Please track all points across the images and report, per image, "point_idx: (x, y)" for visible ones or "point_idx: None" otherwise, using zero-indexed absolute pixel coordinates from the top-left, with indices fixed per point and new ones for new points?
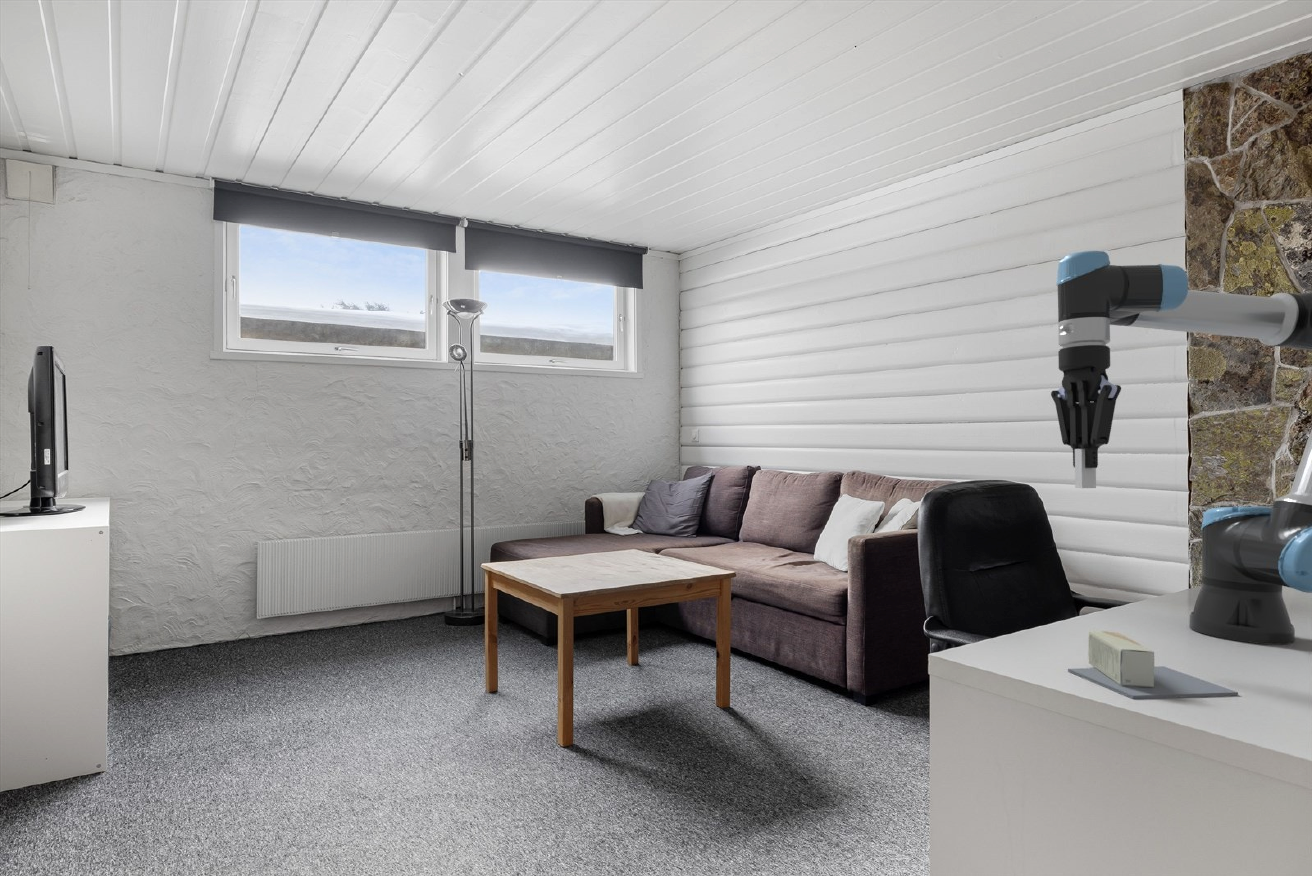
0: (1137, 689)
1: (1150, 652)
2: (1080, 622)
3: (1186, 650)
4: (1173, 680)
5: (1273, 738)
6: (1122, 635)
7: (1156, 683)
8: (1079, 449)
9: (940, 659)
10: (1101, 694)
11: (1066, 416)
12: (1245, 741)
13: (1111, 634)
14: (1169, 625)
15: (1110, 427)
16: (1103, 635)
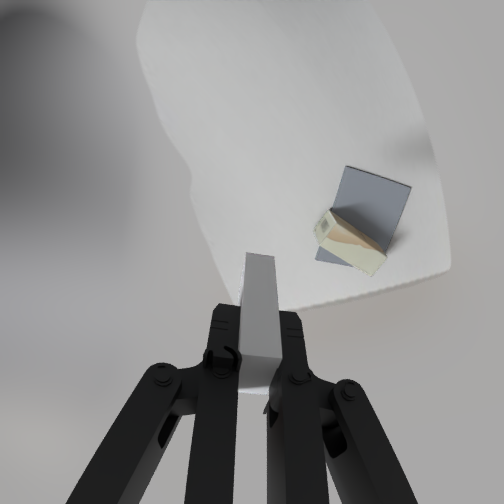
0: None
1: (385, 259)
2: (153, 62)
3: (302, 60)
4: (374, 205)
5: (441, 255)
6: (346, 231)
7: (371, 227)
8: (256, 391)
9: None
10: (359, 280)
11: (133, 501)
12: (433, 273)
13: (339, 239)
14: None
15: (387, 443)
16: (338, 250)
